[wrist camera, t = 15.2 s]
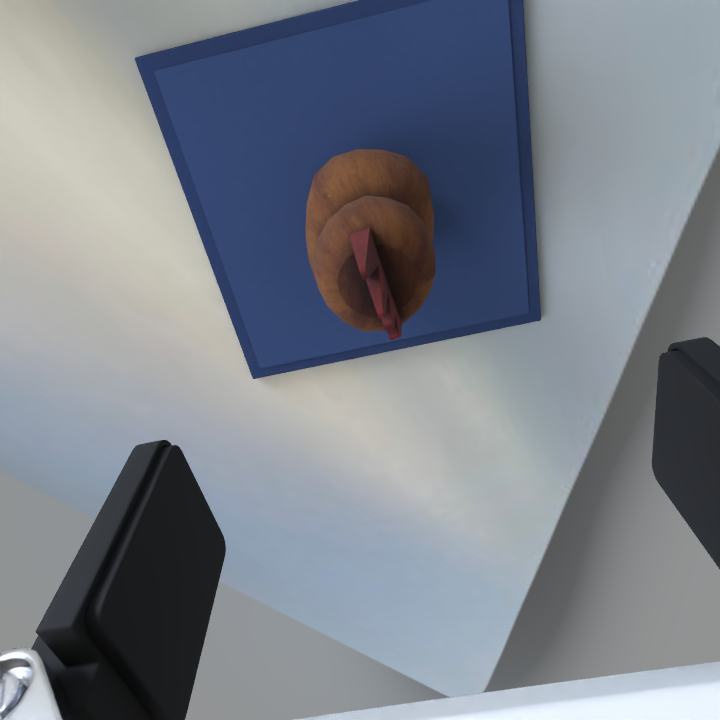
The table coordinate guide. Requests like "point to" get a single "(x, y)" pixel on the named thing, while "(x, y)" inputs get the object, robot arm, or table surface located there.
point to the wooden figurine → (371, 238)
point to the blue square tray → (347, 133)
